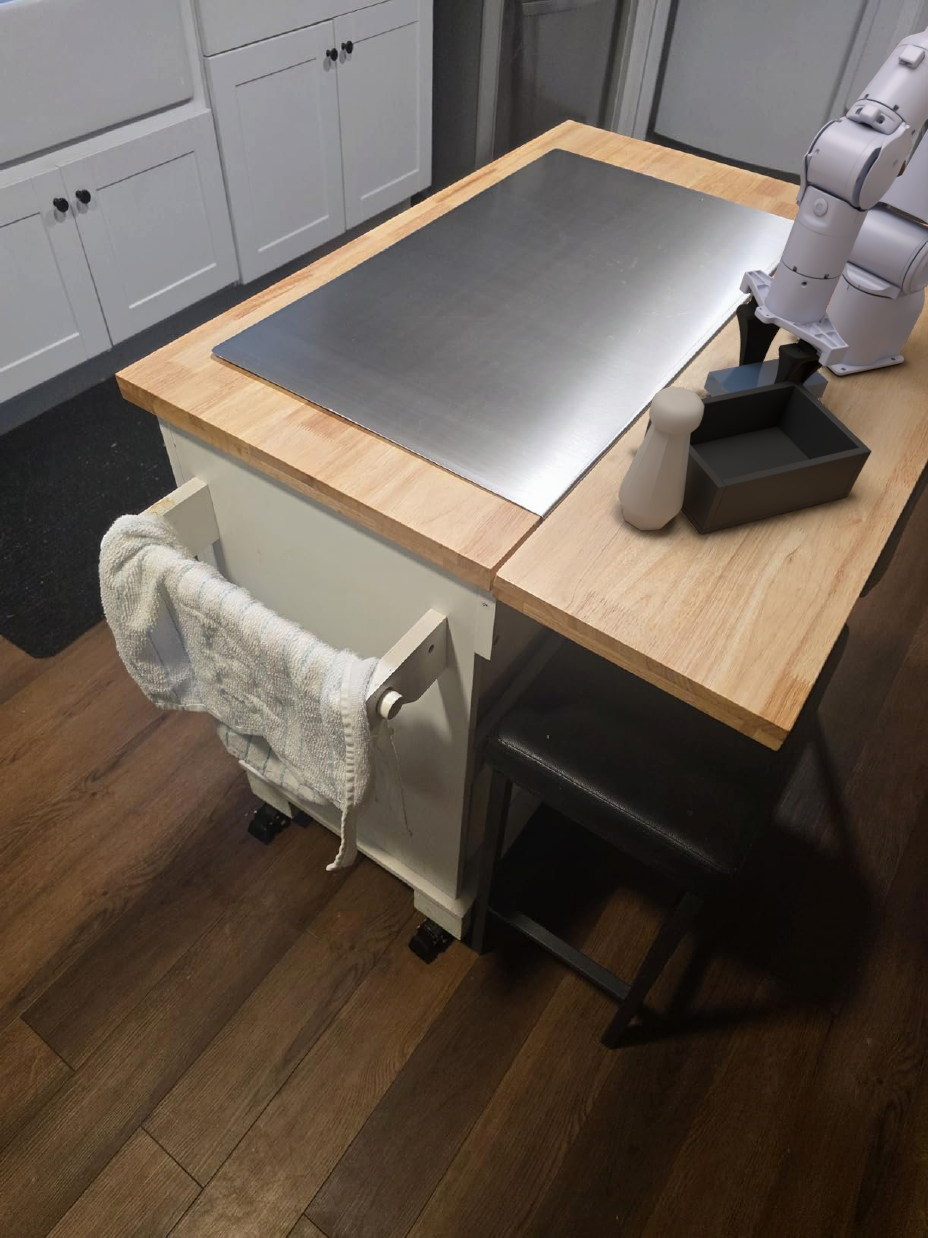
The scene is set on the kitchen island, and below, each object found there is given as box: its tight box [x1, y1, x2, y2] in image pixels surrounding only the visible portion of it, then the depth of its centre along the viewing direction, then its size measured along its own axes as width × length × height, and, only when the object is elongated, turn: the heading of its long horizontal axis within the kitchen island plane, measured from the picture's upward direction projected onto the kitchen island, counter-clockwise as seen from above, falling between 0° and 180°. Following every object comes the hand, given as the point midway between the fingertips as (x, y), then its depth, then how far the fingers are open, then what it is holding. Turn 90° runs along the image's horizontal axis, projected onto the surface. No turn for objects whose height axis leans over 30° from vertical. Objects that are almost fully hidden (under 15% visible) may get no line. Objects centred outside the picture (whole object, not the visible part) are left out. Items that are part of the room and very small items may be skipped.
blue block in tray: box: [703, 357, 829, 399], centre depth 92 cm, size 5×12×3 cm, turn 112°
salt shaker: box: [617, 385, 704, 531], centre depth 75 cm, size 6×6×13 cm
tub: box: [643, 379, 873, 535], centre depth 83 cm, size 17×12×6 cm
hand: (762, 387), depth 92 cm, fingers closed on blue block in tray, 5 cm apart
